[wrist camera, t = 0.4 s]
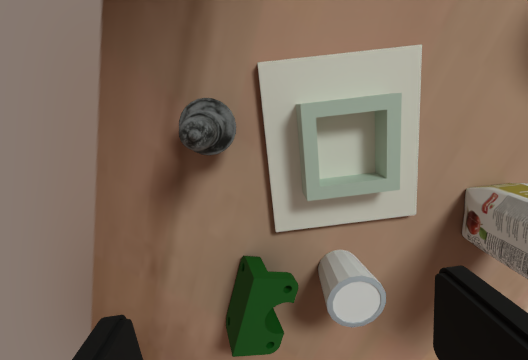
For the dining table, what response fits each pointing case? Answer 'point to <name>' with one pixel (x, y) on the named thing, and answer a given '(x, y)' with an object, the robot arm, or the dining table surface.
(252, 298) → the clamp
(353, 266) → the white cylinder
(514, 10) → the dining table surface
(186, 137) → the chess piece
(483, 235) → the juice carton
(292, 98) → the holder
